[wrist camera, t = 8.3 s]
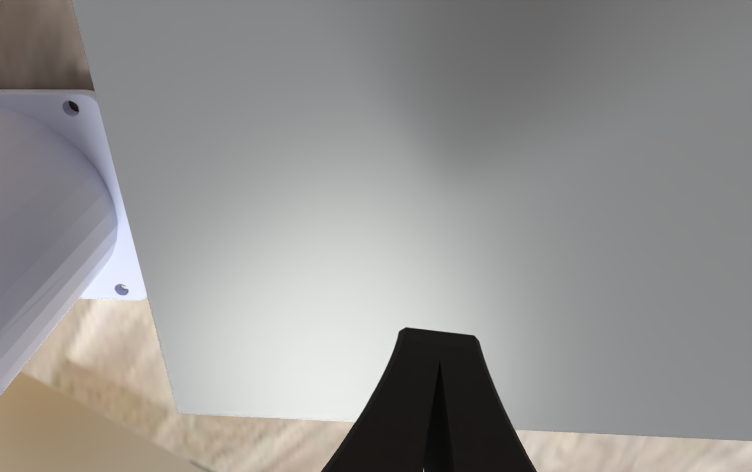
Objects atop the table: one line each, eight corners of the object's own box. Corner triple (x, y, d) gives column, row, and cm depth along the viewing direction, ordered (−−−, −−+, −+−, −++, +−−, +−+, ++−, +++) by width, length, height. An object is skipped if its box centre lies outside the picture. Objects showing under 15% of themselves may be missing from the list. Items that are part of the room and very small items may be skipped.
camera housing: (233, 294, 24) (177, 413, 19) (172, -58, 18) (66, -21, 13) (786, 311, 23) (886, 447, 17) (929, -72, 16) (1152, -36, 11)
